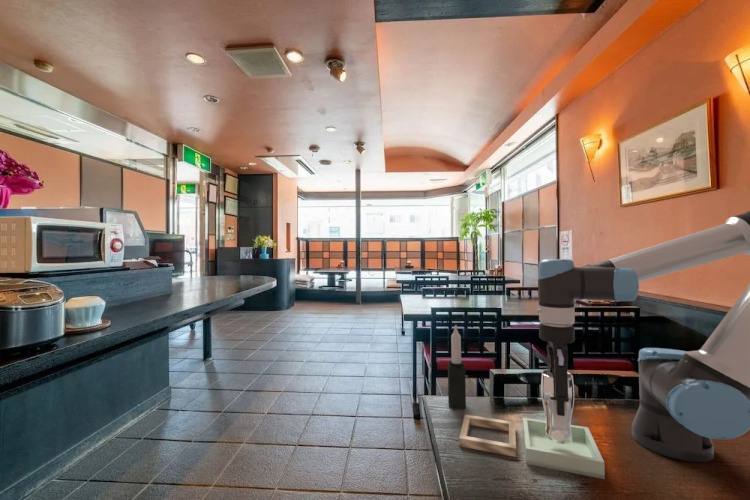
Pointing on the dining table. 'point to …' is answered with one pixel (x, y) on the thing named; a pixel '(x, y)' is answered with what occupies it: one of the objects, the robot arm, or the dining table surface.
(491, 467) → the dining table surface
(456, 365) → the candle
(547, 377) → the beer glass
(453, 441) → the dining table surface
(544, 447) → the tray
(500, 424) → the light wood square frame
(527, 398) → the dining table surface
